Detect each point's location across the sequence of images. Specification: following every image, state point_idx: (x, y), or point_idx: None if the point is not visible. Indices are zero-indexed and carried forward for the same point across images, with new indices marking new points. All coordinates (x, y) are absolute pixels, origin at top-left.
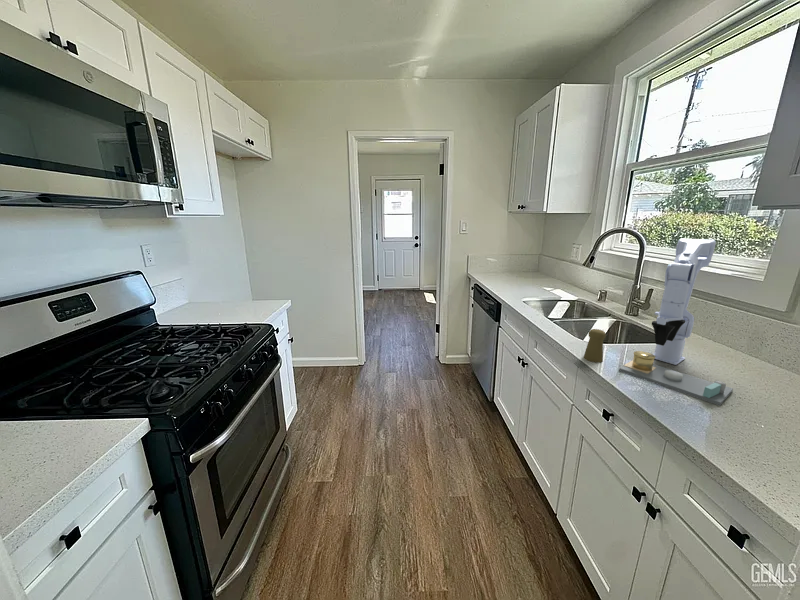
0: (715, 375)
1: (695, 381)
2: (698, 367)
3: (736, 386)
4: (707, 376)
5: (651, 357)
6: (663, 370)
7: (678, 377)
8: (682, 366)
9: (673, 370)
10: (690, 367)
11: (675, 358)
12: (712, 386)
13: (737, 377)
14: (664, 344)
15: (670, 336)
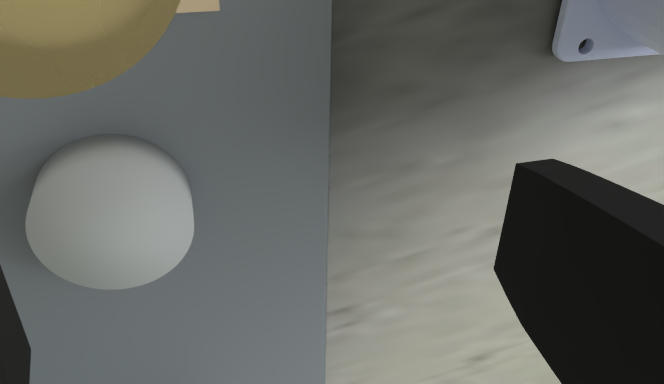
0: None
1: (222, 304)
2: (631, 165)
3: (431, 378)
4: (476, 259)
5: None
6: (225, 80)
7: (71, 274)
8: (569, 93)
9: (323, 129)
10: (589, 135)
11: (642, 41)
12: None
13: None
14: (28, 371)
15: (552, 298)
